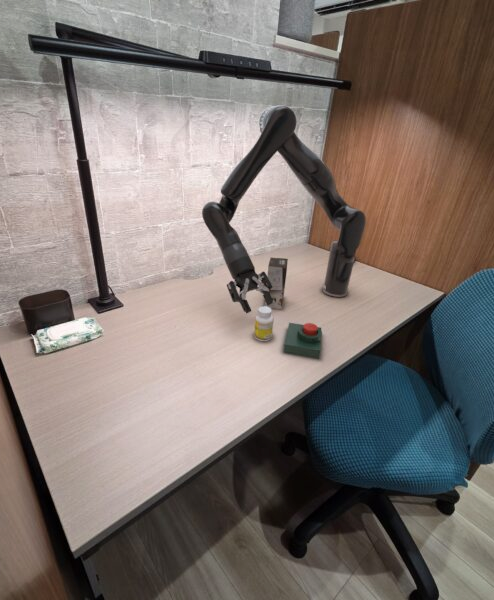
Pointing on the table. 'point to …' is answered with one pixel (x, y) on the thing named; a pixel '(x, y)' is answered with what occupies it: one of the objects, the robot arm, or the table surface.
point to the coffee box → (277, 281)
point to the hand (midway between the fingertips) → (260, 308)
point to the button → (310, 329)
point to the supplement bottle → (264, 324)
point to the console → (302, 342)
